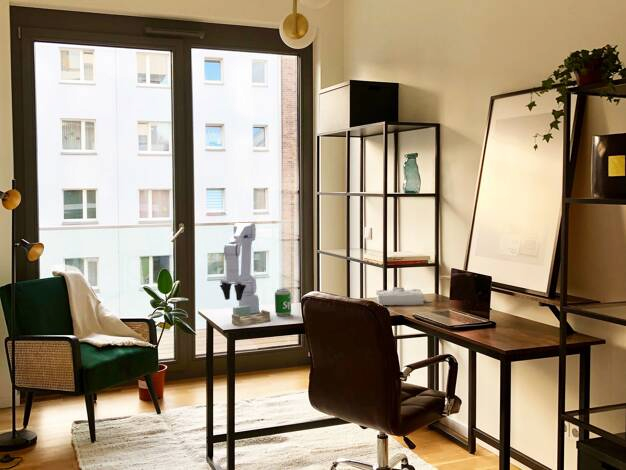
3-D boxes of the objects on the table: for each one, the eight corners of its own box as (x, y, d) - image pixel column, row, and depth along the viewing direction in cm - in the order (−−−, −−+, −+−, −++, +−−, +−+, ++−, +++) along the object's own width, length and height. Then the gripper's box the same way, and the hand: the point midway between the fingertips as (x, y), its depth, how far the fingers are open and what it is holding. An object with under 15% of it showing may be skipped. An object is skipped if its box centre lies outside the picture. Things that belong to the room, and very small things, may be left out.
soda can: (278, 317, 334) (277, 291, 333) (273, 314, 341) (272, 289, 340) (293, 315, 337) (292, 290, 336) (288, 312, 344) (287, 288, 343)
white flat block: (434, 306, 352) (433, 290, 351) (377, 307, 353) (377, 292, 352) (429, 300, 371) (429, 285, 371) (375, 301, 372) (375, 287, 372)
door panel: (248, 317, 335) (248, 305, 334) (251, 318, 332) (250, 306, 332) (233, 320, 330) (232, 307, 330) (235, 321, 328) (235, 308, 328)
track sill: (263, 318, 331) (263, 310, 331) (270, 320, 326) (270, 311, 325) (231, 323, 322) (231, 314, 322) (238, 325, 317) (237, 316, 316)
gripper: (215, 270, 325) (215, 299, 325) (237, 271, 316) (237, 301, 316) (226, 269, 331) (227, 298, 331) (248, 270, 321) (249, 300, 322)
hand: (233, 299), depth 324 cm, fingers open, 7 cm apart
